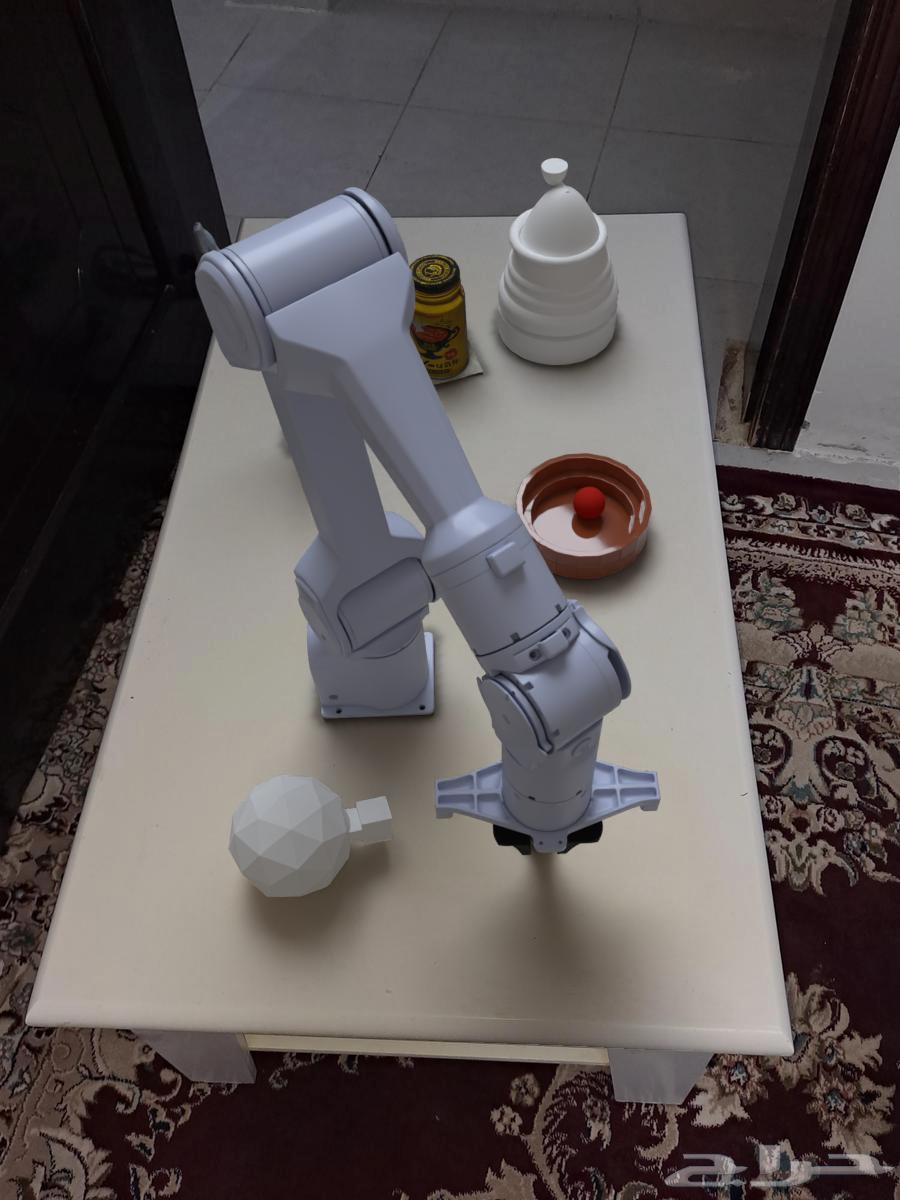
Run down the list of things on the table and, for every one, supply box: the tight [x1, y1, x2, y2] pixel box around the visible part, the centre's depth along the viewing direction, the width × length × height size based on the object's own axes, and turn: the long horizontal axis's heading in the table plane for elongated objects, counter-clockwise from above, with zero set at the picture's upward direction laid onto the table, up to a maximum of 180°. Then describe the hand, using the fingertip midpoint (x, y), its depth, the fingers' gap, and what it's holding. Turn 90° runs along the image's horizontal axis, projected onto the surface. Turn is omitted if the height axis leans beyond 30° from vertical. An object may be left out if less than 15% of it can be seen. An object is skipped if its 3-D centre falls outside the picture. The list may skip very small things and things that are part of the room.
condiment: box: [409, 253, 484, 386], centre depth 103 cm, size 7×8×12 cm
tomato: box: [573, 487, 605, 519], centre depth 93 cm, size 3×3×3 cm
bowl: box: [515, 452, 653, 580], centre depth 92 cm, size 12×12×4 cm
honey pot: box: [497, 157, 620, 366], centre depth 103 cm, size 13×13×18 cm
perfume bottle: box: [228, 774, 394, 898], centre depth 74 cm, size 9×9×12 cm
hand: (542, 841), depth 72 cm, fingers closed
